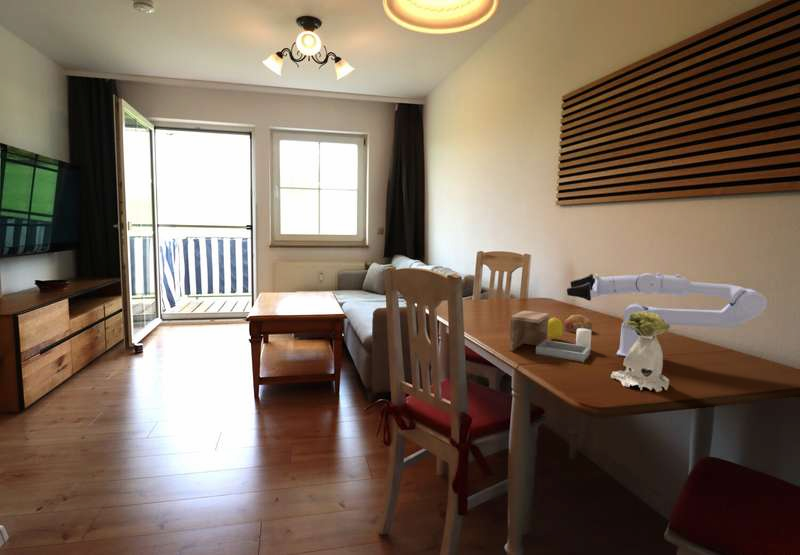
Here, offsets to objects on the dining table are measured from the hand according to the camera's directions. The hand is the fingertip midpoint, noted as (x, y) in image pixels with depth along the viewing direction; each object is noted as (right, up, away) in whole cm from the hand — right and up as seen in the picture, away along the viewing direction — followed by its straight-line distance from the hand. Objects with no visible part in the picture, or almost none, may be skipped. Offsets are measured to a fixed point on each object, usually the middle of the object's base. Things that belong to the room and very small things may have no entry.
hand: (569, 288), depth 148 cm
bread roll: (+12, -17, +24) cm, 32 cm away
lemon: (-2, -18, +10) cm, 21 cm away
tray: (-5, -20, -9) cm, 23 cm away
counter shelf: (-14, -19, -3) cm, 24 cm away
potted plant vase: (+5, -23, -33) cm, 41 cm away
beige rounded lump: (+3, -20, -3) cm, 20 cm away
